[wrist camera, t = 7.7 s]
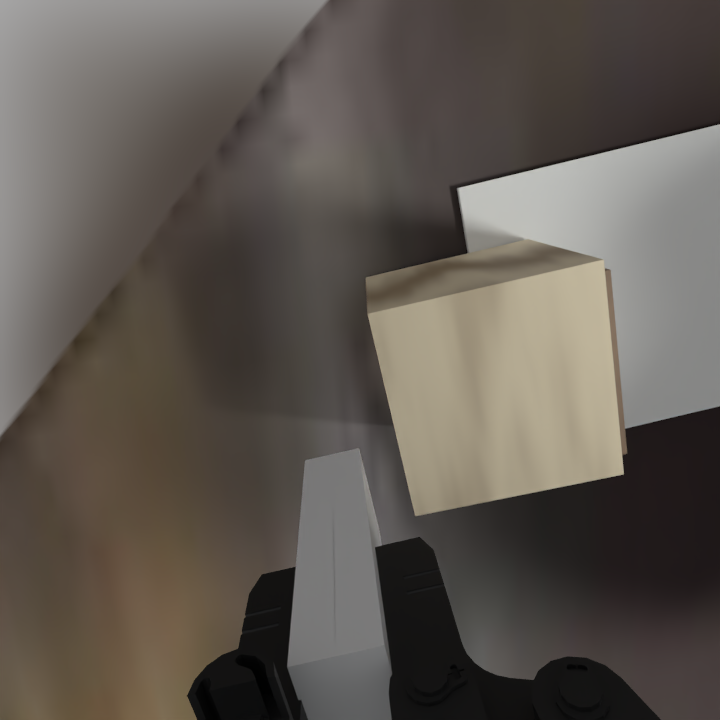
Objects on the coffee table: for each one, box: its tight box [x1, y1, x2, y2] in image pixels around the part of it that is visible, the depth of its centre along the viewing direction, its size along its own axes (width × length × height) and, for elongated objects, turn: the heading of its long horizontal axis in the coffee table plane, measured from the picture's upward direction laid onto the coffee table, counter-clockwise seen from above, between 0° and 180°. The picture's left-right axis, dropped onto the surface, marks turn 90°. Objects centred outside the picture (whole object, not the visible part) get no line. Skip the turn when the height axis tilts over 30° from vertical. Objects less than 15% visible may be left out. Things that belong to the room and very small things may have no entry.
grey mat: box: [457, 124, 720, 429], centre depth 26 cm, size 14×14×1 cm
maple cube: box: [366, 239, 627, 516], centre depth 22 cm, size 8×8×8 cm
